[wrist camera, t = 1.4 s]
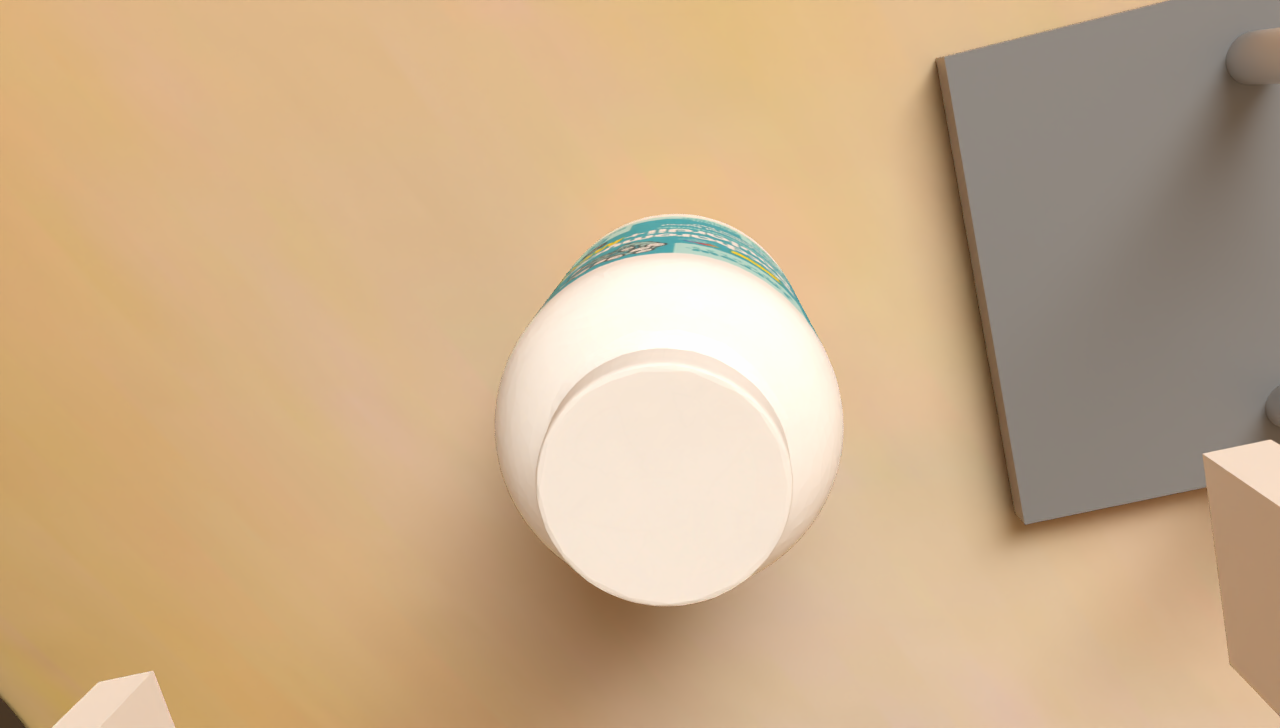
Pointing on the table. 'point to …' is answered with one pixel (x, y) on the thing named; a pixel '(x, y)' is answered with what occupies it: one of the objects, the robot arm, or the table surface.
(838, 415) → the pill bottle
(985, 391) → the table surface
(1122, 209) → the grey peg board
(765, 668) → the table surface
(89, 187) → the table surface
